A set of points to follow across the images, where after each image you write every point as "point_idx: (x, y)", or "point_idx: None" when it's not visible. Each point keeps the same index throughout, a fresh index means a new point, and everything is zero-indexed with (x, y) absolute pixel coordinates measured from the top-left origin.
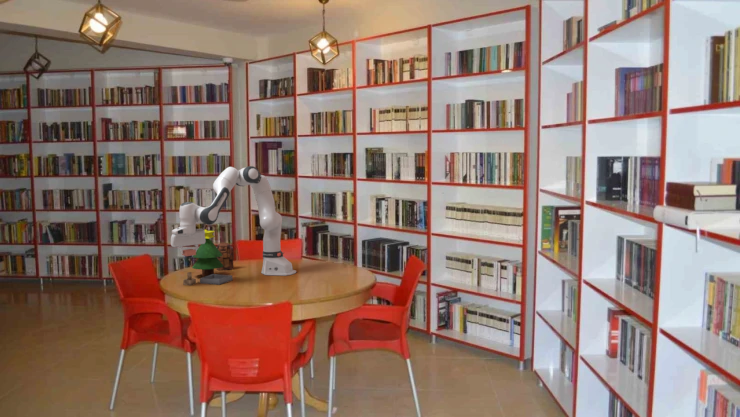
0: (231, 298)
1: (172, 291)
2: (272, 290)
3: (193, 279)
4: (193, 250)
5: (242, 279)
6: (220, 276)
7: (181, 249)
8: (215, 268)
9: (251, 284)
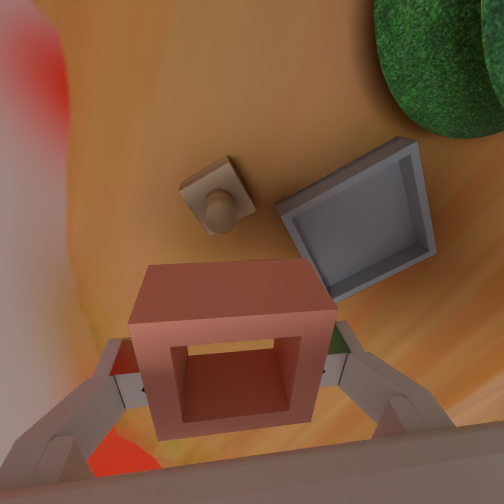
0: (236, 445)
1: (86, 294)
2: (368, 421)
3: (236, 221)
4: (276, 422)
5: (456, 250)
6: (412, 195)
7: (83, 446)
8: (468, 138)
9: (396, 344)
